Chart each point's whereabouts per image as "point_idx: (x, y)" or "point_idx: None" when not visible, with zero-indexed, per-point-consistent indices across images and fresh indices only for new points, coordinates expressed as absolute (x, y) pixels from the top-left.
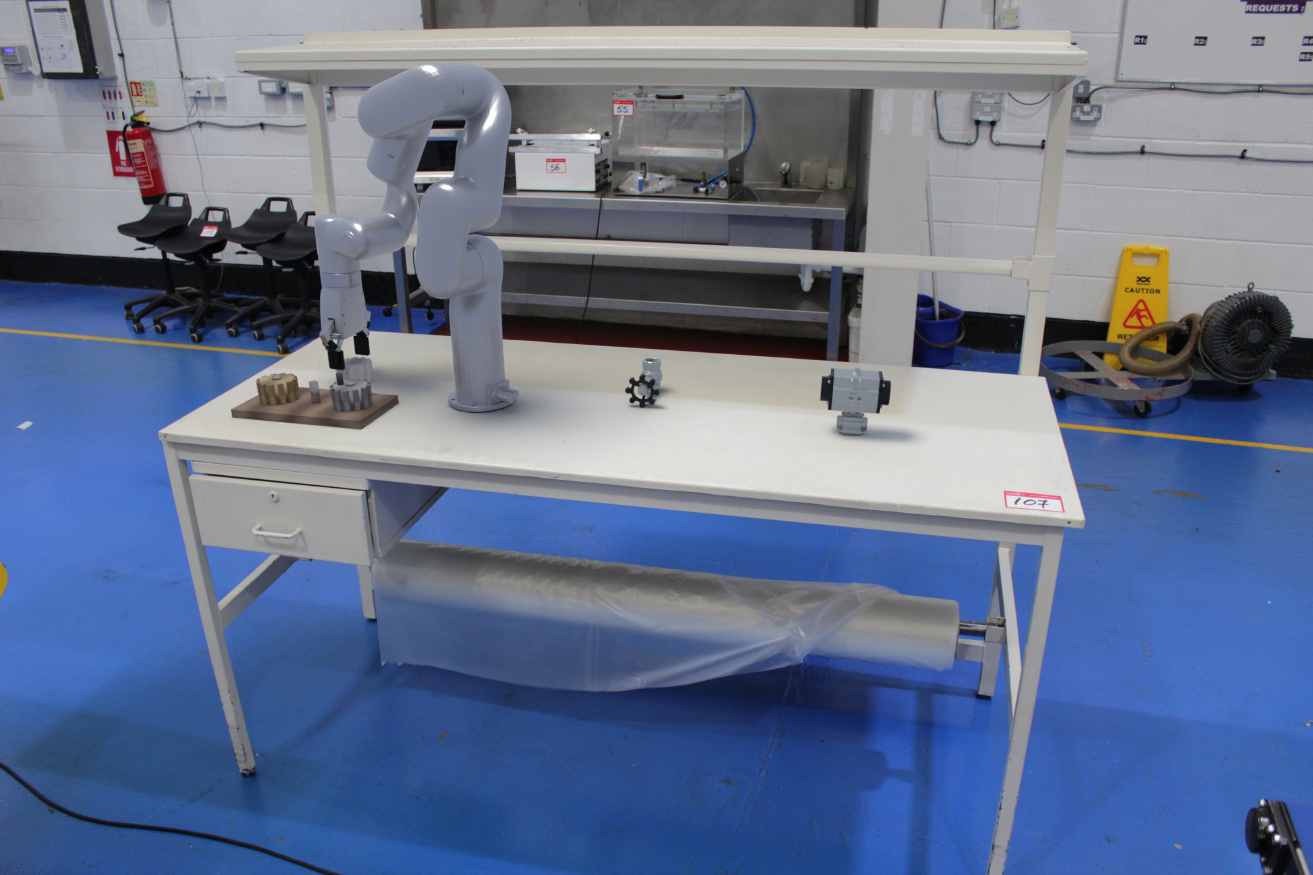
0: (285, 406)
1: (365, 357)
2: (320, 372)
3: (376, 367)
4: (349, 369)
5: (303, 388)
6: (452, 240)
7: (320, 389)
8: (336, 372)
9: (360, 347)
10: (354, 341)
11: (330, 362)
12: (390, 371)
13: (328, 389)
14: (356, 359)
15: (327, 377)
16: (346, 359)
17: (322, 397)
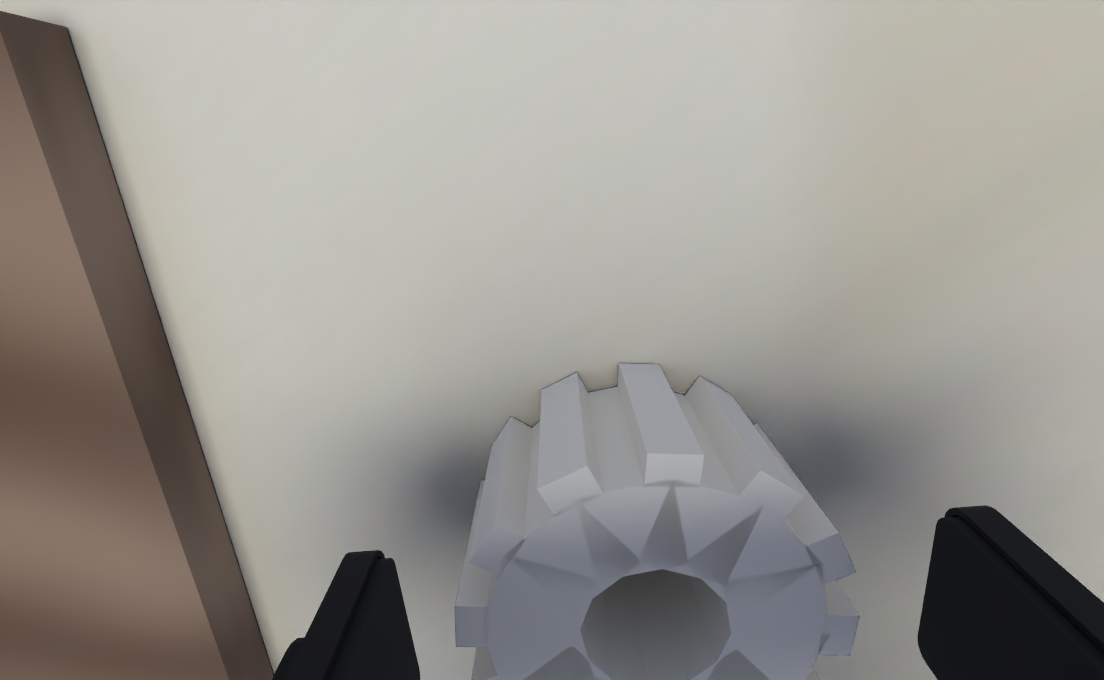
0: None
1: (849, 652)
2: (777, 20)
3: (1011, 456)
4: (475, 672)
5: (89, 368)
6: None
7: (155, 521)
8: (501, 473)
9: (997, 661)
10: (1085, 673)
11: (282, 667)
12: (914, 605)
13: (191, 577)
14: (756, 610)
15: (643, 210)
16: (732, 514)
17: (25, 640)
